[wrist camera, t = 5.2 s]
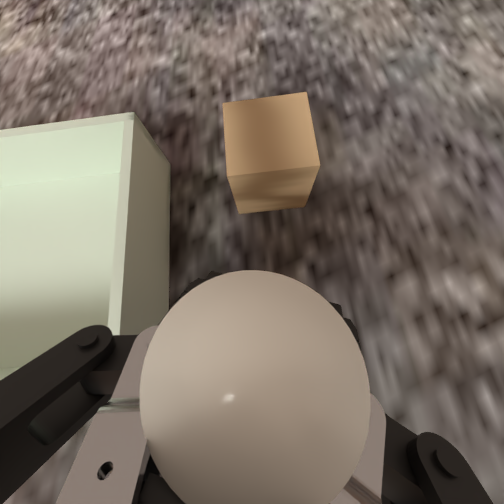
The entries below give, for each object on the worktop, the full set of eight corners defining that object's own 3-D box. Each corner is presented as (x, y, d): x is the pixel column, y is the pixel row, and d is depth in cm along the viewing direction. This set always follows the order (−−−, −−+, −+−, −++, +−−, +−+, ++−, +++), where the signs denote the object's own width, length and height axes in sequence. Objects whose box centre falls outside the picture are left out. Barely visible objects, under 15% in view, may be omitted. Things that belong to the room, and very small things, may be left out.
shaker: (294, 290, 15) (345, 261, 5) (304, 367, 13) (397, 527, 4) (224, 296, 15) (144, 279, 5) (228, 372, 14) (133, 535, 4)
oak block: (295, 151, 17) (306, 91, 13) (304, 207, 16) (320, 165, 11) (235, 158, 18) (222, 103, 13) (239, 214, 16) (227, 176, 12)
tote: (170, 164, 18) (134, 111, 13) (167, 364, 14) (115, 394, 9) (-43, 190, 19) (-151, 150, 14) (-99, 383, 15) (-273, 421, 10)
